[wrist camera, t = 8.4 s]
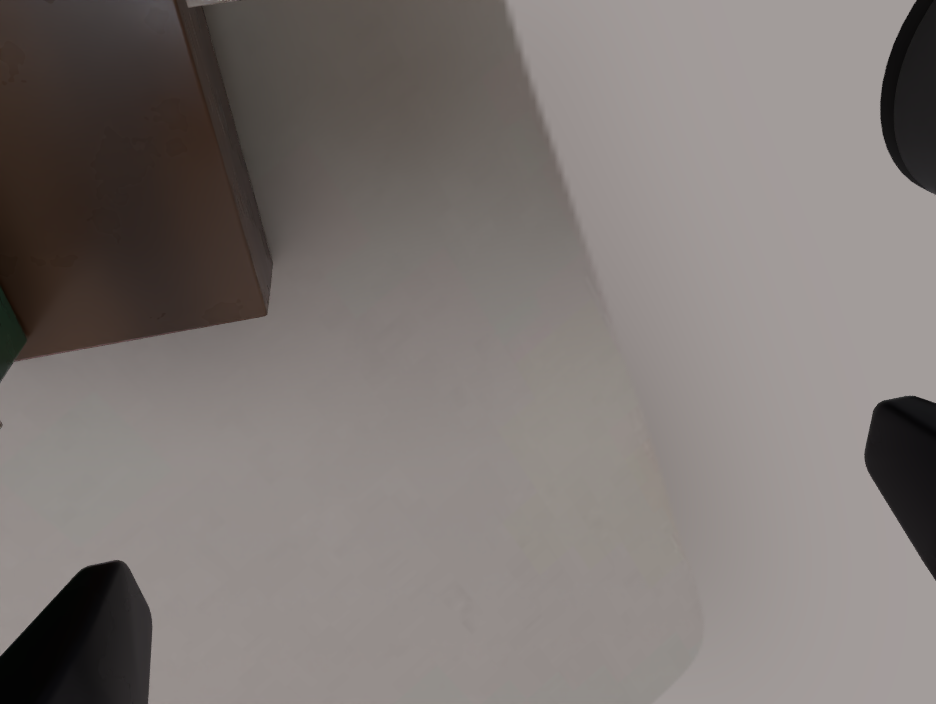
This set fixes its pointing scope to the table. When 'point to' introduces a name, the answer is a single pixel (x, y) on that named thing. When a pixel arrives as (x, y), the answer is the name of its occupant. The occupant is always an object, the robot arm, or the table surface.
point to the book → (9, 336)
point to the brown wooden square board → (121, 176)
